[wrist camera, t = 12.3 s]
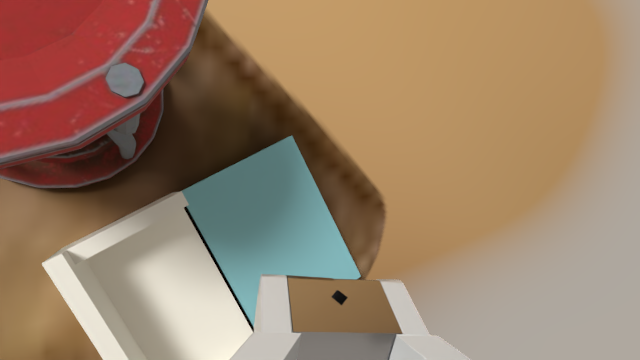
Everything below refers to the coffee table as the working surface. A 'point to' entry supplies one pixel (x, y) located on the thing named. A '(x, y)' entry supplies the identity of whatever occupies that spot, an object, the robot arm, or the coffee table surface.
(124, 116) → the hourglass
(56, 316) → the coffee table surface
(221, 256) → the box lid
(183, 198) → the white open box
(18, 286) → the coffee table surface
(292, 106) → the coffee table surface
